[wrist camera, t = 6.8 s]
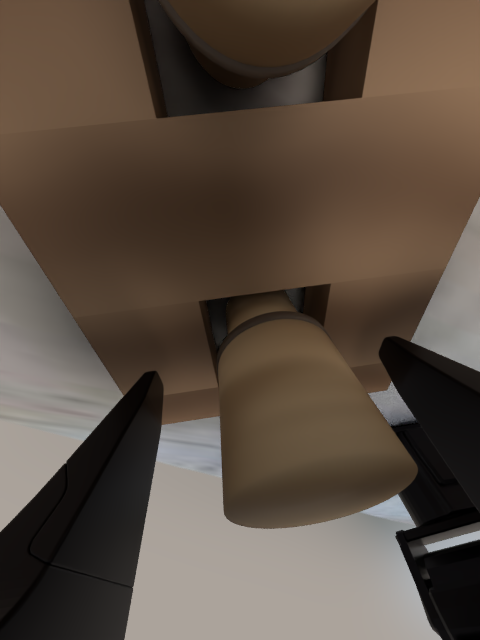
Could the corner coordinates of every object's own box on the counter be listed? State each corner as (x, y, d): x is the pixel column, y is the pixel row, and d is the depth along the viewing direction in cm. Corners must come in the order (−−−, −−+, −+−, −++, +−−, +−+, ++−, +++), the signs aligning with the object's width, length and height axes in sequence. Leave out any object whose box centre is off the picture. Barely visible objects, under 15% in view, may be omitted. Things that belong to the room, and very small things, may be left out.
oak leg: (297, 338, 13) (385, 511, 6) (221, 348, 13) (232, 538, 6) (303, 265, 10) (460, 434, 4) (207, 277, 10) (204, 475, 4)
